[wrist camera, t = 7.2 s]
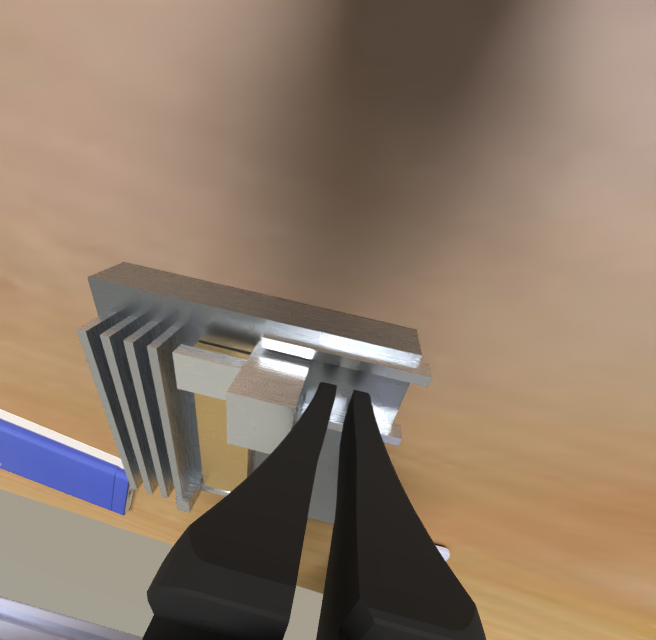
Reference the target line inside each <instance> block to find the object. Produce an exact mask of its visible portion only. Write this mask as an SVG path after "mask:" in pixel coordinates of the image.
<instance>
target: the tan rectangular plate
mask: <svg viewBox="0 0 656 640" xmlns="http://www.w3.org/2000/svg"><path fill="white" fill-rule="evenodd" d="M193 347H196V348H200V349H204V350H208V351H212V352H217V353H221V354H225V355H229V356H233V357H237V358H241V359H246V360H247V359H248V357H249V356H250V355H249V354H245V353H240V352H236V351H232V350H228V349H224V348H220V347H215V346H211V345H207V344H203V343H199V342H197V343H196V344H195V345H194V346H193ZM194 397H195V407H196V416H197V426H198V435H199V445H200V454H201V464H202V473H203V483H204V485H205V486H209V487H213V488H217V489H220V490H224V491H228V492H231V491H233V490H234V489H235V488H236V487H237V486H238V485H239V484H240V483H242V482H243V481H244V480H245V479H246V478H247V477H248V476H249V475H250V474H251V455H252V449H248V448H244V447H240V446H236V445H232V444H228V443H227V410H226V401H225V400H221V399H217V398H213V397H209V396H205V395H201V394H197V393H194Z"/></svg>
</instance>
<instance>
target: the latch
mask: <svg viewBox="0 0 656 640" xmlns="http://www.w3.org/2000/svg"><path fill="white" fill-rule="evenodd" d="M261 344H262V340H259V342H258V344H257V345H256V347H255V348H254V350H253V351H252V353H251V354H250V356H249V357H248V359H247V360H246V359H241V358H237V357H233V356H229V355H225V354H221V353H217V352H212V351H208V350H204V349H200V348H196V347H192V346H188V345H183V344H181V345H180V346H179V347H178V348H177V349H176V350H175V351H173V352H172V354H173V361H174V368H175V375H176V382H177V389H181V390H185V391H189V392H193V393H197V394H201V395H205V396H209V397H213V398H217V399H221V400H225V401H226V410H227V443H228V444H232V445H236V446H240V447H244V448H248V449H252V450H256V451H259V452H263V453H267V454H271V453H272V452H273V451H274V450H275V449H276V447H277V446H278V445H279V444H280V443H281V442H282V440H283V439H284V438H285V437H286V436H287V434H288V433H289V432H290V431H291V429H292V428H293V427H294V425H295V424H296V423H297V421H298V420H299V417H300V413H301V410H302V407H303V403H304V400H305V396H306V391H307V386H308V380H309V375H310V370H311V365H312V359H308V358H304V357H300V356H295V355H291V354H287V353H283V352H279V351H275V350H270V349H266V348H262V347H261Z"/></svg>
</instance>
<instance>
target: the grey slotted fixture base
mask: <svg viewBox="0 0 656 640" xmlns="http://www.w3.org/2000/svg"><path fill="white" fill-rule="evenodd" d="M88 281H89V284H90V288H91V291H92V295H93V298H94V302H95V305H96V309H97V312H98V316H99V317H97V318H95V319H93V320H92V321H90V322H88V323H86V324H85V325H83V326H81V327H79V328H78V329H76V330H77V333H78V336H79V339H80V341H81V344H82V347H83V350H84V353H85V356H86V359H87V362H88V365H89V368H90V371H91V373H92V376H93V379H94V382H95V385H96V388H97V391H98V394H99V397H100V400H101V403H102V405H103V408H104V411H105V414H106V417H107V420H108V423H109V426H110V429H111V432H112V435H113V437H114V440H115V443H116V446H117V449H118V452H119V455H120V458H121V461H122V464H123V467H124V469H125V472H126V475H127V478H128V481H129V484H130V487H131V489H135V490H138V488H139V487H140V485H141V484H142V483H144V486H145V490H146V493H150V494H153V493H154V491H155V490H156V488H157V487H158V485H159V488H160V492H161V496H162V497H165V498H168V497H169V495H170V494H171V492H172V491H173V489H174V488H175V493H176V504H177V509H178V510H182V511H186V512H189V513H190V511H191V510H192V508H193V506H194V504H195V502H196V500H197V498H198V496H199V494H200V493H201V491H202V490H203V491H207V492H211V493H215V494H219V495H222V496H227V495H228V494H229V493H230V492H228V491H224V490H220V489H217V488H213V487H209V486H205V485H204V483H203V473H202V464H201V454H200V445H199V435H198V426H197V416H196V407H195V397H194V393H193V392H189V391H185V390H181V389H177V382H176V375H175V368H174V361H173V354H172V352H173V351H175V350H176V349H177V348H178V347H179V346H180V345H181V344H183V345H188V346H192V347H193V346H194V345H195V344H196V343H197V342H199V343H203V344H207V345H211V346H215V347H220V348H224V349H228V350H232V351H236V352H240V353H245V354H249V355H250V354H251V353H252V351H253V350H254V348H255V347H256V345H257V344H258V342H259V340H262V344H261V347H262V348H266V349H270V350H275V351H279V352H283V353H287V354H291V355H295V356H300V357H304V358H308V359H312V365H311V370H310V375H309V380H308V386H307V391H306V396H305V400H304V403H303V407H302V410H301V413H300V417H301V416H302V414H303V413H304V411H305V410H306V408H307V407H308V405H309V404H310V402H311V400H312V399H313V397H314V395H315V393H316V391H317V389H318V386H319V383H321V382H325V383H329V384H334V385H337V389H336V396H335V401H334V405H333V409H332V412H331V416H330V420H329V423H328V427H327V431H326V434H325V438H324V442H323V445H322V449H321V452H320V455H319V459H318V462H317V468H316V473H315V479H314V484H313V490H312V495H311V501H310V506H309V512H308V518H310V519H314V520H318V521H322V522H326V523H329V524H333V525H334V520H335V511H336V498H337V481H338V464H339V448H340V441H341V434H342V428H343V422H344V419H345V416H346V413H347V409H348V406H349V403H350V400H351V397H352V393H353V390H358V391H362V392H366V393H369V395H370V397H371V402H372V407H373V411H374V414H375V418H376V421H377V424H378V428H379V431H380V434H381V436H382V439H383V442H384V443H388V444H393V445H397V446H399V444H400V442H401V439H402V438H401V426H400V425H399V424H395V423H392V422H393V420H394V418H395V416H396V413H397V411H398V409H399V407H400V404H401V402H402V400H403V398H404V395H405V393H406V391H407V389H408V386H409V384H410V383H413V384H417V385H421V386H425V387H428V385H429V383H430V381H431V379H432V376H431V372H430V368H429V365H428V364H424V363H419V362H420V359H421V357H422V353H421V349H420V344H419V340H418V335H417V331H416V330H415V329H410V328H406V327H402V326H397V325H393V324H389V323H384V322H380V321H376V320H371V319H367V318H363V317H358V316H354V315H350V314H345V313H341V312H337V311H332V310H328V309H324V308H319V307H315V306H311V305H306V304H302V303H298V302H293V301H289V300H285V299H280V298H276V297H272V296H267V295H263V294H259V293H254V292H250V291H246V290H241V289H237V288H233V287H228V286H224V285H220V284H215V283H211V282H207V281H202V280H198V279H194V278H189V277H185V276H181V275H177V274H172V273H168V272H164V271H159V270H155V269H151V268H146V267H142V266H138V265H133V264H129V263H125V262H123V263H121V264H118V265H116V266H114V267H111V268H109V269H106V270H104V271H101V272H99V273H97V274H94V275H92V276H89V277H88ZM300 417H299V419H300ZM269 455H270V454H267V453H263V452H259V451H256V450H252V455H251V473H252V472H253V471H254V470H255V469H256V468H257V467H258V466H259V465H260V464H261V463H262V462H263V461H264V460H265V459H266V458H267V457H268V456H269Z"/></svg>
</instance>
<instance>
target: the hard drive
mask: <svg viewBox="0 0 656 640" xmlns="http://www.w3.org/2000/svg"><path fill="white" fill-rule="evenodd" d="M0 468H1V469H4V470H7V471H9V472H12V473H14V474H17V475H20V476H22V477H25V478H28V479H30V480H33V481H35V482H38V483H41V484H43V485H46V486H48V487H51V488H54V489H56V490H59V491H61V492H64V493H67V494H69V495H72V496H74V497H77V498H79V499H82V500H85V501H87V502H90V503H92V504H95V505H98V506H100V507H103V508H106V509H108V510H111V511H114V512H116V513H119V514H121V515H125V514H126V512H127V511H128V509H129V508H130V507H131V501H132V496H133V491H134V489H131V487H130V484H129V481H128V478H127V475H126V472H125V469H124V467H123V464H122V461H121V459H120V458H117V457H115V456H113V455H110V454H108V453H105V452H103V451H101V450H98V449H96V448H93V447H91V446H88V445H86V444H84V443H81V442H79V441H76V440H74V439H72V438H69V437H67V436H64V435H62V434H59V433H57V432H55V431H52V430H50V429H47V428H45V427H42V426H40V425H38V424H35V423H33V422H30V421H28V420H26V419H23V418H21V417H18V416H16V415H13V414H11V413H9V412H6V411H4V410H1V409H0Z"/></svg>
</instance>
